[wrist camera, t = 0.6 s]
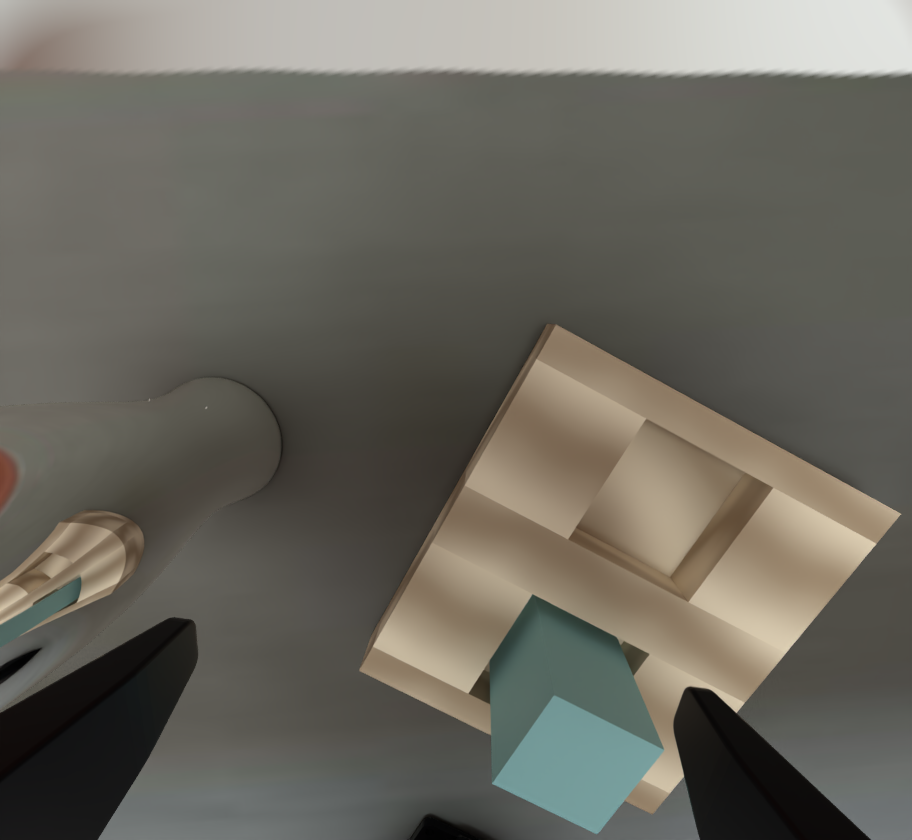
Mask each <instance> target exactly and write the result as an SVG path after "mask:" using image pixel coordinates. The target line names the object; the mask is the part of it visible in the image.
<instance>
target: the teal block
mask: <svg viewBox="0 0 912 840" xmlns="http://www.w3.org/2000/svg"><path fill="white" fill-rule="evenodd" d="M489 667H490V713H491V760H492V784H494V785H496V786H498V787H500V788H502V789H504V790H506V791H508V792H510V793H512V794H514V795H517V796H519V797H521V798H523V799H525V800H527V801H529V802H531V803H533V804H535V805H537V806H539V807H541V808H543V809H545V810H548V811H550V812H552V813H554V814H556V815H558V816H560V817H562V818H564V819H566V820H568V821H570V822H572V823H574V824H576V825H579V826H581V827H583V828H585V829H587V830H589V831H591V832H593V833H595V834H598V833H599V832H600V830H601V829H602V828H603V827H604V825H605V824H606V823H607V822H608V820H609V819H610V818H611V817H612V815H613V814H614V813H615V812H616V810H617V809H618V808H619V807H620V805H621V804H622V803H623V802H624V800H625V799H626V798H627V797H628V795H629V794H630V793H631V792H632V790H633V789H634V788H635V787H636V785H637V784H638V783H639V782H640V780H641V779H642V778H643V777H644V775H645V774H646V773H647V772H648V770H649V769H650V768H651V767H652V765H653V764H654V763H655V762H656V760H657V759H658V758H659V757H660V755H661V754H662V753H663V752H664V747H663V745H662V743H661V740H660V738H659V736H658V733H657V731H656V729H655V726H654V724H653V721H652V719H651V717H650V714H649V712H648V710H647V707H646V705H645V703H644V700H643V698H642V695H641V693H640V691H639V688H638V686H637V684H636V681H635V679H634V676H633V674H632V672H631V669H630V667H629V665H628V662H627V660H626V658H625V655H624V653H623V650H622V648H621V646H620V643H619V641H618V639H617V637H615V636H614V635H612V634H610V633H608V632H606V631H604V630H602V629H600V628H598V627H596V626H594V625H592V624H590V623H588V622H586V621H584V620H582V619H580V618H578V617H576V616H574V615H572V614H571V613H569V612H567V611H565V610H563V609H561V608H559V607H557V606H555V605H553V604H551V603H549V602H547V601H545V600H543V599H541V598H539V597H537V596H535V595H533V594H532V596H531V597H530V599H529V600H528V602H527V604H526V605H525V607H524V608H523V610H522V611H521V613H520V614H519V616H518V617H517V619H516V621H515V622H514V624H513V625H512V627H511V628H510V630H509V631H508V633H507V634H506V636H505V638H504V639H503V641H502V642H501V644H500V645H499V647H498V648H497V650H496V651H495V653H494V655H493V656H492V658H491V659H490V661H489Z"/></svg>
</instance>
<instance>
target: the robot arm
mask: <svg viewBox="0 0 912 840" xmlns="http://www.w3.org/2000/svg"><path fill="white" fill-rule="evenodd" d="M197 659H198V646H197V634H196V625H195V623H194V621H193V620H190V619H183V618H175V617H173V618H169V619H166V620H164V621H163V622H161V623H159V624H157V625H155V626H154V627H152V628H150V629H148V630H147V631H145V632H143V633H141V634H139V635H138V636H136V637H134V638H132V639H131V640H129V641H127V642H125V643H123V644H122V645H120V646H118V647H116V648H115V649H113V650H111V651H109V652H108V653H106V654H104V655H102V656H100V657H99V658H97V659H95V660H93V661H92V662H90V663H88V664H86V665H84V666H83V667H81V668H79V669H77V670H76V671H74V672H72V673H70V674H68V675H67V676H65V677H63V678H61V679H60V680H58V681H56V682H54V683H52V684H51V685H49V686H47V687H45V688H44V689H42V690H40V691H38V692H36V693H35V694H33V695H31V696H29V697H28V698H26V699H24V700H22V701H20V702H19V703H17V704H15V705H13V706H12V707H10V708H8V709H6V710H4V711H3V712H1V713H0V840H98V838H99V836H100V835H101V833H102V832H103V830H104V828H105V827H106V825H107V824H108V822H109V821H110V819H111V817H112V816H113V814H114V813H115V811H116V809H117V808H118V806H119V805H120V803H121V801H122V800H123V798H124V797H125V795H126V793H127V792H128V790H129V789H130V787H131V785H132V784H133V782H134V781H135V779H136V777H137V776H138V774H139V773H140V771H141V769H142V768H143V766H144V764H145V763H146V761H147V759H148V758H149V756H150V754H151V752H152V750H153V748H154V747H155V745H156V743H157V741H158V739H159V737H160V735H161V733H162V731H163V729H164V727H165V725H166V723H167V721H168V719H169V717H170V715H171V714H172V712H173V710H174V708H175V706H176V704H177V702H178V700H179V698H180V696H181V694H182V692H183V690H184V688H185V686H186V684H187V682H188V680H189V678H190V676H191V674H192V672H193V671H194V668H195V666H196V663H197ZM673 730H674V736H675V740H676V744H677V748H678V753H679V757H680V761H681V765H682V769H683V773H684V778H685V782H686V786H687V790H688V794H689V798H690V803H691V807H692V811H693V815H694V819H695V823H696V827H697V830H698V834H699V837H700V840H871V839H870V838H868V837H867V836H866V835H865V834H864V833H863V832H862V831H861V830H860V829H859V828H858V827H857V826H856V825H855V824H854V823H853V822H852V821H850V820H849V819H848V818H847V817H846V816H845V815H844V814H843V813H842V812H841V811H840V810H839V809H838V808H837V807H836V806H835V805H833V804H832V803H831V802H830V801H829V800H828V799H827V798H826V797H825V796H824V795H823V794H822V793H821V792H820V791H819V790H818V789H817V788H815V787H814V786H813V785H812V784H811V783H810V782H809V781H808V780H807V779H806V778H805V777H804V776H803V775H802V774H801V773H800V772H798V771H797V770H796V769H795V768H794V767H793V766H792V765H791V764H790V763H789V762H788V761H787V760H786V759H785V758H784V757H783V756H782V755H780V754H779V753H778V752H777V751H776V750H775V749H774V748H773V747H772V746H771V745H770V744H769V743H768V742H767V741H766V740H765V739H763V738H762V737H761V736H760V735H759V734H758V733H757V732H756V731H755V730H754V729H753V728H752V727H751V726H750V725H749V724H748V723H747V722H745V721H744V720H743V719H742V718H741V717H740V716H739V715H738V714H737V713H736V712H735V711H734V710H733V709H732V708H731V707H730V706H728V705H727V704H726V703H725V702H724V701H723V700H722V699H721V698H720V697H719V696H718V695H717V694H716V693H715V692H713V691H712V690H710V689H707V688H700V687H692V686H689V687H687V688H685V689H684V691H683V694H682V697H681V699H680V702H679V705H678V708H677V711H676V713H675V716H674V721H673ZM410 840H478V839H476V838H474V837H472V836H470V835H468V834H466V833H464V832H461V831H459V830H457V829H455V828H453V827H451V826H449V825H447V824H445V823H443V822H440V821H438V820H436V819H434V818H426V819H424V820H423V821H422V823H421V824H420V825H419V827H418V828H417V830H416V831H415V833H414V834H413V836H412V837H411V839H410Z"/></svg>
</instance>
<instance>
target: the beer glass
mask: <svg viewBox="0 0 912 840" xmlns="http://www.w3.org/2000/svg"><path fill="white" fill-rule="evenodd" d="M281 451H282V440H281V434H280V429H279V426H278V423H277V421H276V418H275V416H274V415H273V413H272V411H271V410H270V408H269V407H268V405H267V404H266V403H265V402H264V401H263V400H262V398H261V397H259V396H258V395H257V394H256V393H255V392H254V391H252V390H251V389H249V388H248V387H246V386H244V385H242V384H240V383H238V382H235V381H232V380H229V379H225V378H218V377H204V378H198V379H194V380H191V381H189V382H186V383H184V384H182V385H181V386H179V387H177V388H175V389H174V390H172V391H171V392H169V393H167V394H165V395H163V396H161V397H157V398H154V399H149V400H144V401H131V402H59V403H38V404H23V405H9V406H0V711H1V710H2V709H3V708H5V707H6V706H8V705H9V704H10V703H12V702H13V701H14V700H16V699H17V698H19V697H20V696H21V695H23V694H24V693H25V692H27V691H28V690H30V689H31V688H32V687H34V686H35V685H36V684H38V683H39V682H40V681H42V680H43V679H44V678H46V677H47V676H48V675H49V674H51V673H52V672H53V671H54V670H56V669H57V668H58V667H60V666H61V665H62V664H63V663H65V662H66V661H67V660H69V659H70V658H71V657H72V656H74V655H75V654H76V653H78V652H79V651H80V650H81V649H83V648H84V647H85V646H86V645H88V644H89V643H90V642H91V641H92V640H93V639H95V638H96V637H97V636H98V635H99V634H100V633H101V632H102V631H104V630H105V629H106V628H107V627H108V626H109V625H110V624H112V623H113V622H114V621H115V620H116V619H117V618H118V617H120V616H121V615H122V614H123V613H124V612H125V611H126V610H127V609H128V608H129V607H130V606H131V605H132V604H133V603H134V602H135V601H136V600H137V599H138V598H139V597H140V596H141V595H142V594H143V593H144V592H145V591H146V590H147V589H148V587H149V586H150V585H151V584H152V583H153V582H154V581H155V580H156V579H157V578H158V577H159V576H160V575H161V574H162V572H163V571H164V570H165V569H166V568H167V566H168V565H169V564H170V563H171V562H172V561H173V559H174V558H175V557H176V556H177V555H178V553H179V552H180V551H181V550H182V549H183V547H184V546H185V545H186V544H187V543H188V541H189V540H190V539H191V538H192V536H193V535H194V534H195V533H196V532H197V530H198V529H199V528H200V527H201V526H202V525H203V523H204V522H205V521H206V520H207V519H208V518H209V517H210V516H211V515H212V514H213V513H215V512H216V511H217V510H219V509H220V508H222V507H224V506H227V505H229V504H232V503H235V502H237V501H240V500H242V499H245V498H247V497H249V496H251V495H253V494H255V493H256V492H258V491H259V490H260V489H262V488H263V487H264V486H265V485H266V484H267V483H268V482H269V481H270V479H271V478H272V477H273V475H274V473H275V471H276V469H277V467H278V465H279V461H280V458H281Z"/></svg>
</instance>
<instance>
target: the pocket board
mask: <svg viewBox="0 0 912 840" xmlns="http://www.w3.org/2000/svg"><path fill="white" fill-rule="evenodd" d="M900 515H901V514H900V513H898V512H897V511H895V510H893V509H891V508H889V507H887V506H886V505H884V504H882V503H880V502H878V501H877V500H875V499H873V498H871V497H869V496H867V495H866V494H864V493H862V492H860V491H858V490H856V489H855V488H853V487H851V486H849V485H847V484H846V483H844V482H842V481H840V480H838V479H836V478H835V477H833V476H831V475H829V474H827V473H826V472H824V471H822V470H820V469H818V468H816V467H815V466H813V465H811V464H809V463H807V462H805V461H804V460H802V459H800V458H798V457H796V456H795V455H793V454H791V453H789V452H787V451H785V450H784V449H782V448H780V447H778V446H776V445H775V444H773V443H771V442H769V441H767V440H765V439H764V438H762V437H760V436H758V435H756V434H754V433H753V432H751V431H749V430H747V429H745V428H744V427H742V426H740V425H738V424H736V423H734V422H733V421H731V420H729V419H727V418H725V417H724V416H722V415H720V414H718V413H716V412H714V411H713V410H711V409H709V408H707V407H705V406H704V405H702V404H700V403H698V402H696V401H694V400H693V399H691V398H689V397H687V396H685V395H683V394H682V393H680V392H678V391H676V390H674V389H673V388H671V387H669V386H667V385H665V384H663V383H662V382H660V381H658V380H656V379H654V378H653V377H651V376H649V375H647V374H645V373H643V372H642V371H640V370H638V369H636V368H634V367H632V366H631V365H629V364H627V363H625V362H623V361H622V360H620V359H618V358H616V357H614V356H612V355H611V354H609V353H607V352H605V351H603V350H602V349H600V348H598V347H596V346H594V345H592V344H591V343H589V342H587V341H585V340H583V339H581V338H580V337H578V336H576V335H574V334H572V333H571V332H569V331H567V330H565V329H563V328H561V327H560V326H558V325H555V324H547V325H546V327H545V329H544V330H543V332H542V334H541V336H540V338H539V339H538V341H537V343H536V345H535V346H534V348H533V350H532V352H531V354H530V355H529V357H528V359H527V361H526V362H525V364H524V366H523V368H522V369H521V371H520V373H519V375H518V377H517V378H516V380H515V382H514V384H513V385H512V387H511V389H510V391H509V392H508V394H507V396H506V398H505V400H504V401H503V403H502V405H501V407H500V408H499V410H498V412H497V414H496V416H495V417H494V419H493V421H492V423H491V424H490V426H489V428H488V430H487V431H486V433H485V435H484V437H483V439H482V440H481V442H480V444H479V446H478V447H477V449H476V451H475V453H474V454H473V456H472V458H471V460H470V462H469V463H468V465H467V467H466V469H465V470H464V472H463V474H462V476H461V477H460V479H459V481H458V483H457V485H456V486H455V488H454V490H453V492H452V493H451V495H450V497H449V499H448V501H447V502H446V504H445V506H444V508H443V509H442V511H441V513H440V515H439V516H438V518H437V520H436V522H435V524H434V525H433V527H432V529H431V531H430V532H429V534H428V536H427V538H426V539H425V541H424V543H423V545H422V547H421V548H420V550H419V552H418V554H417V555H416V557H415V559H414V561H413V562H412V564H411V566H410V568H409V570H408V571H407V573H406V575H405V577H404V578H403V580H402V582H401V584H400V586H399V587H398V589H397V591H396V593H395V594H394V596H393V598H392V600H391V601H390V603H389V605H388V607H387V609H386V610H385V612H384V614H383V616H382V617H381V619H380V621H379V623H378V624H377V626H376V628H375V630H374V632H373V633H372V635H371V638H370V641H369V644H368V647H367V649H366V652H365V655H364V658H363V661H362V664H361V667H360V670H359V671H361V672H363V673H365V674H367V675H369V676H371V677H373V678H375V679H377V680H379V681H381V682H383V683H385V684H387V685H389V686H391V687H394V688H396V689H398V690H400V691H402V692H404V693H406V694H408V695H410V696H412V697H414V698H416V699H418V700H420V701H422V702H424V703H426V704H428V705H430V706H432V707H434V708H436V709H438V710H440V711H442V712H444V713H447V714H449V715H451V716H453V717H455V718H457V719H459V720H461V721H463V722H465V723H467V724H469V725H471V726H473V727H475V728H477V729H479V730H481V731H483V732H485V733H487V734H489V735H491V713H490V667H489V661H490V659H491V658H492V656H493V655H494V653H495V651H496V650H497V648H498V647H499V645H500V644H501V642H502V641H503V639H504V638H505V636H506V634H507V633H508V631H509V630H510V628H511V627H512V625H513V624H514V622H515V621H516V619H517V617H518V616H519V614H520V613H521V611H522V610H523V608H524V607H525V605H526V604H527V602H528V600H529V599H530V597H531V596H532V594H533V595H535V596H537V597H539V598H541V599H543V600H545V601H547V602H549V603H551V604H553V605H555V606H557V607H559V608H561V609H563V610H565V611H567V612H569V613H571V614H572V615H574V616H576V617H578V618H580V619H582V620H584V621H586V622H588V623H590V624H592V625H594V626H596V627H598V628H600V629H602V630H604V631H606V632H608V633H610V634H612V635H614V636H615V637H617V639H618V641H619V643H620V646H621V648H622V650H623V653H624V655H625V658H626V660H627V662H628V665H629V667H630V669H631V672H632V674H633V676H634V679H635V681H636V684H637V686H638V688H639V691H640V693H641V695H642V698H643V700H644V703H645V705H646V707H647V710H648V712H649V714H650V717H651V719H652V721H653V724H654V726H655V729H656V731H657V733H658V736H659V738H660V740H661V743H662V745H663V747H664V752H663V753H662V754H661V755H660V757H659V758H658V759H657V760H656V762H655V763H654V764H653V765H652V767H651V768H650V769H649V770H648V772H647V773H646V774H645V775H644V777H643V778H642V779H641V780H640V782H639V783H638V784H637V785H636V787H635V788H634V789H633V790H632V792H631V793H630V794H629V795H628V797H627V798H626V799H625V800H624V801H626V802H628V803H630V804H632V805H634V806H636V807H638V808H640V809H642V810H644V811H646V812H648V813H650V814H653V813H654V812H655V811H656V810H657V808H658V807H659V806H660V805H661V803H662V802H663V801H664V800H665V799H666V797H667V796H668V795H669V794H670V793H671V791H672V790H673V789H674V788H675V787H676V785H677V784H678V783H679V782H680V781H681V779H682V778H683V777H684V773H683V769H682V765H681V761H680V757H679V753H678V748H677V744H676V740H675V736H674V730H673V721H674V716H675V713H676V711H677V708H678V705H679V702H680V699H681V697H682V694H683V691H684V689H685V688H687V687H689V686H692V687H700V688H707V689H710V690H712V691H713V692H715V693H716V694H717V695H718V696H719V697H720V698H721V699H722V700H723V701H724V702H725V703H726V704H727V705H728V706H730V707H731V708H732V709H733V710H734V711H735V712H736V713H737V712H738V710H739V709H740V708H741V707H742V706H743V704H744V703H745V702H746V701H747V700H748V698H749V697H750V696H751V695H752V693H753V692H754V691H755V690H756V689H757V687H758V686H759V685H760V684H761V683H762V681H763V680H764V679H765V678H766V677H767V675H768V674H769V673H770V672H771V670H772V669H773V668H774V667H775V666H776V664H777V663H778V662H779V661H780V660H781V658H782V657H783V656H784V655H785V654H786V652H787V651H788V650H789V649H790V648H791V646H792V645H793V644H794V643H795V641H796V640H797V639H798V638H799V637H800V635H801V634H802V633H803V632H804V631H805V629H806V628H807V627H808V626H809V625H810V623H811V622H812V621H813V620H814V618H815V617H816V616H817V615H818V614H819V612H820V611H821V610H822V609H823V608H824V606H825V605H826V604H827V603H828V602H829V600H830V599H831V598H832V597H833V596H834V594H835V593H836V592H837V591H838V589H839V588H840V587H841V586H842V585H843V583H844V582H845V581H846V580H847V579H848V577H849V576H850V575H851V574H852V573H853V571H854V570H855V569H856V568H857V567H858V565H859V564H860V563H861V562H862V560H863V559H864V558H865V557H866V556H867V554H868V553H869V552H870V551H871V550H872V548H873V547H874V546H875V545H876V544H877V542H878V541H879V540H880V539H881V537H882V536H883V535H884V534H885V533H886V531H887V530H888V529H889V528H890V527H891V525H892V524H893V523H894V522H895V521H896V519H897V518H898V517H899V516H900Z"/></svg>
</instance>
